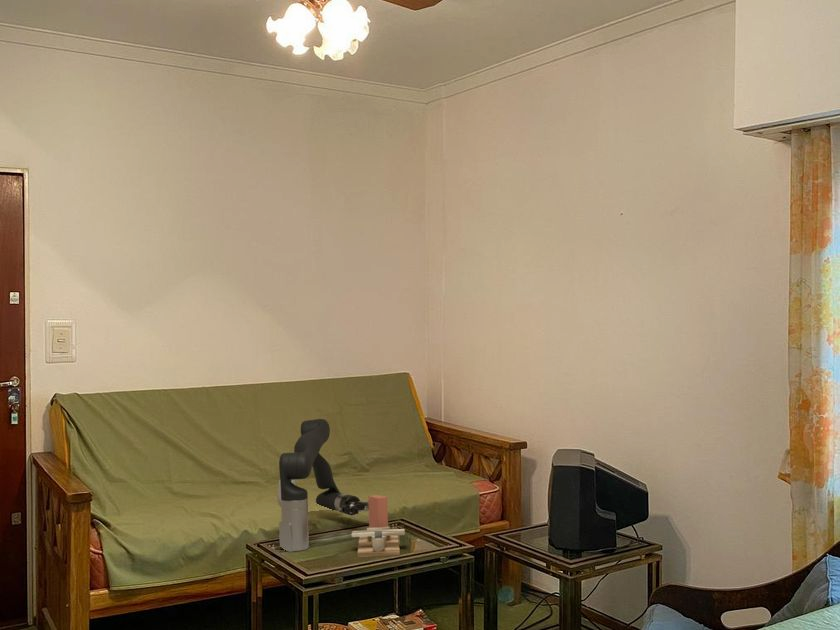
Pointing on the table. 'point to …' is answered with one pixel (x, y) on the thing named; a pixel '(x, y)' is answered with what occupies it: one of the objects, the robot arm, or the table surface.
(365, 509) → the robot arm
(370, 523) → the terracotta rectangular block
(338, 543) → the table surface
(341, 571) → the table surface
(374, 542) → the jig
